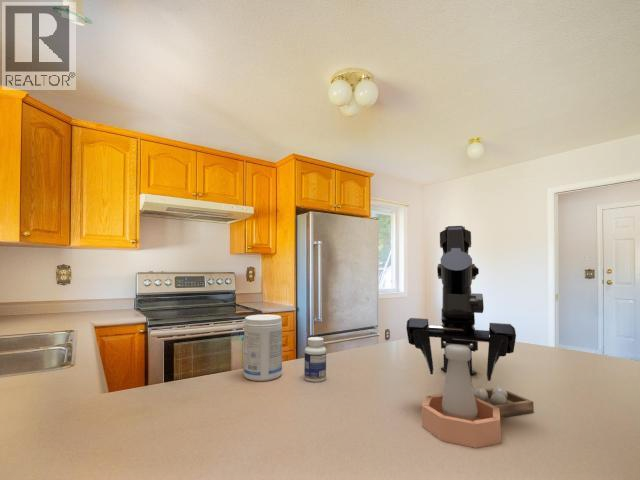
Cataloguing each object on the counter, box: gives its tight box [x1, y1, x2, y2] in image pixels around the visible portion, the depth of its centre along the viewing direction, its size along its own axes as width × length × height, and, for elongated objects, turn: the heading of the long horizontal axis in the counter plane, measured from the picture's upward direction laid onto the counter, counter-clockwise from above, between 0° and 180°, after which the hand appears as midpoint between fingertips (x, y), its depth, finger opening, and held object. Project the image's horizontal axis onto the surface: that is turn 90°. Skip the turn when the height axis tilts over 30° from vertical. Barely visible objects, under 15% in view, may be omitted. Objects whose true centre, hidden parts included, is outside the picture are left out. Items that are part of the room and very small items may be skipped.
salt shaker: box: [442, 344, 478, 421], centre depth 59 cm, size 6×6×13 cm
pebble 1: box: [473, 387, 488, 402], centre depth 68 cm, size 3×3×3 cm
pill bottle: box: [303, 336, 327, 383], centre depth 83 cm, size 5×5×10 cm
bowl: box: [421, 393, 502, 449], centre depth 58 cm, size 12×12×4 cm
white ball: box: [492, 386, 508, 399], centre depth 68 cm, size 3×3×3 cm
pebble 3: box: [491, 393, 507, 406], centre depth 65 cm, size 3×3×3 cm
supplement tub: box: [243, 314, 283, 382], centre depth 85 cm, size 10×10×15 cm
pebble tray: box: [484, 387, 535, 419], centre depth 67 cm, size 10×8×2 cm
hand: (459, 376), depth 58 cm, fingers open, 9 cm apart
